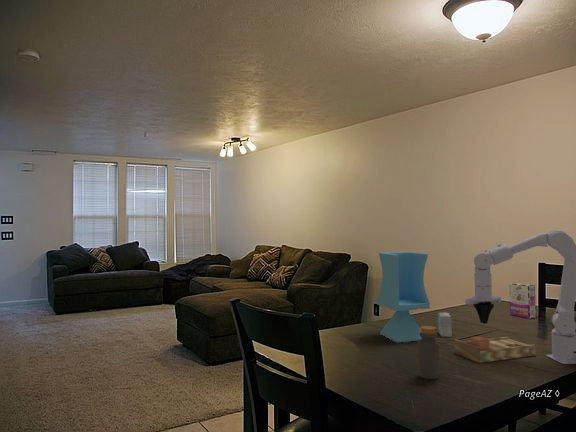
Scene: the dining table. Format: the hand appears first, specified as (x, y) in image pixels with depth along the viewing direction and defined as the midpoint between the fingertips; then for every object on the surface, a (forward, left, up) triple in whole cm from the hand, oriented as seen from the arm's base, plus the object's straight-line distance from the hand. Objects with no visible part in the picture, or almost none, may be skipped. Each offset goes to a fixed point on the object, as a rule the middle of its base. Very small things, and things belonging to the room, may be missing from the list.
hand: (483, 322), depth 164 cm
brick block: (-9, +6, -7) cm, 13 cm away
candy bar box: (+57, -49, -11) cm, 76 cm away
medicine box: (+26, +4, -11) cm, 28 cm away
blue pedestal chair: (+23, +23, -11) cm, 34 cm away
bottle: (-24, +30, -11) cm, 40 cm away
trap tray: (-4, -2, -10) cm, 11 cm away
